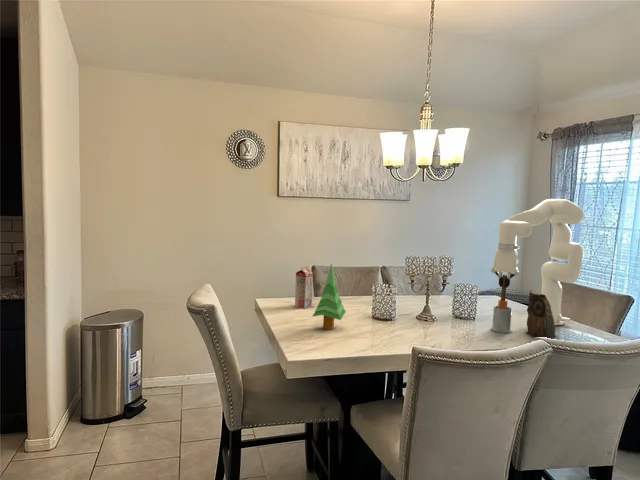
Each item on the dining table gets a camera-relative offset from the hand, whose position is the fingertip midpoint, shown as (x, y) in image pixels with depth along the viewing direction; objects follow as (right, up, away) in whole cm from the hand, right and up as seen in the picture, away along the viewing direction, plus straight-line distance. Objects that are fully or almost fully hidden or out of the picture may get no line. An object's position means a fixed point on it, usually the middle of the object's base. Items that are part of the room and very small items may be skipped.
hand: (504, 286), depth 212 cm
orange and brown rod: (-1, -13, +1) cm, 14 cm away
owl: (+16, -22, -5) cm, 28 cm away
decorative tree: (-83, -18, -7) cm, 85 cm away
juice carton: (-96, -15, +36) cm, 103 cm away
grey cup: (-1, -21, +2) cm, 21 cm away
